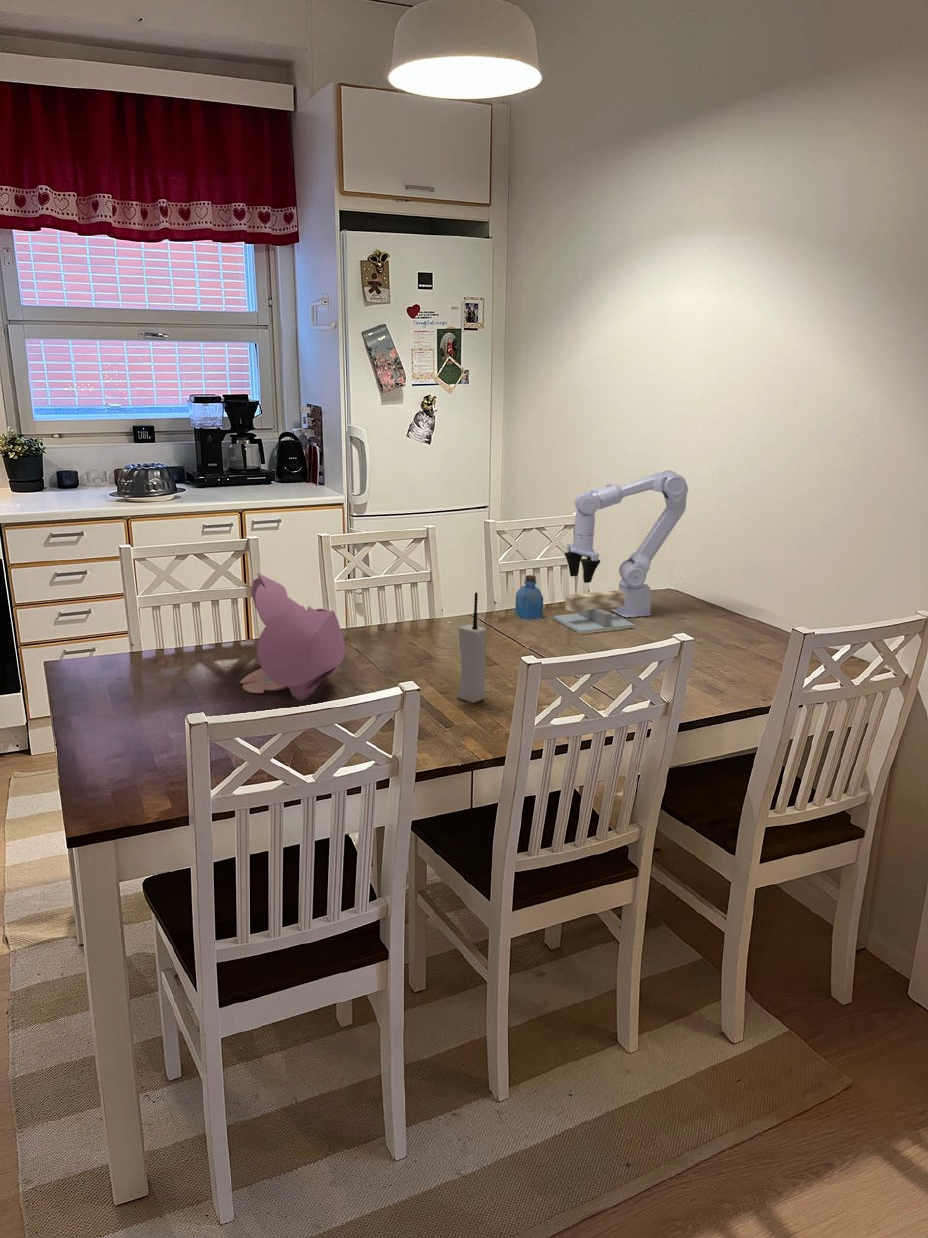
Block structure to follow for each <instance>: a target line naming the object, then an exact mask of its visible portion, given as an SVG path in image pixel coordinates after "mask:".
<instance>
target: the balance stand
mask: <svg viewBox="0 0 928 1238" xmlns="http://www.w3.org/2000/svg"><path fill="white" fill-rule="evenodd" d="M554 619H555V620H557V621H559V622H560V623H562V624H564V625H566V626H568V627H570V628H572V629H574V630H576V631H577V632H580V633H586V632H592V631H600V630H607V629H616V628H626V627H634V626H635V627H636V624H635V623H632V622H631V621H628V620H627V619H626V618H624V617H623V618H622V616H620V615H619V616H618V615H617V614H615V613H613V612H611V611H608V610H606V609H604V608H602V609H593V610H583V611H577V612H576V613H569V614H560V615H559V614H558V615H553V620H554ZM555 620H554V621H555ZM560 623H559V624H560ZM562 624H561V625H562ZM564 625H563V626H564Z"/></svg>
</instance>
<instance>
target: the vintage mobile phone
mask: <svg viewBox="0 0 928 1238" xmlns="http://www.w3.org/2000/svg"><path fill="white" fill-rule="evenodd" d="M473 607H474V611H473V618H472V621H473V622H472V623H473V624H470V623H468V624H466V625H463V626H460V627H458V635H459V638H458V639H459V650H460V654H461V660H460V661H461V662H460V686H459V688H458V690H457V692H456V697H457V699H460V700H463V701H466V702H469V703H472V704H475V703H477V702H479V701H482V700H484V698H485V684H486V661H487V660H486V659H487V658H486V657H487V637H488V636H487V635H488V631H487V628H484V627H481V626H478V592H476V591H475V592H474V606H473Z"/></svg>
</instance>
